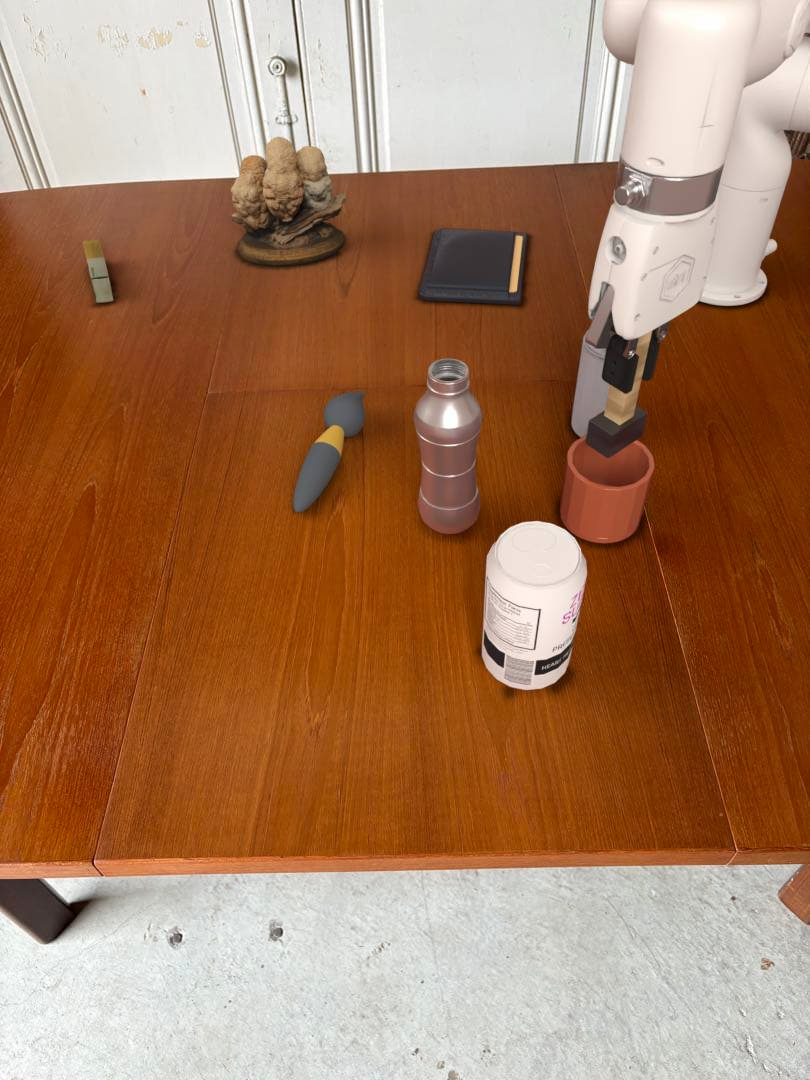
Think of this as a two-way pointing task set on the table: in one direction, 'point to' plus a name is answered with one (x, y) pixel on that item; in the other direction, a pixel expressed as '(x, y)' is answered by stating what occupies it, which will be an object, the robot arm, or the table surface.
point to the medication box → (98, 271)
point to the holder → (605, 491)
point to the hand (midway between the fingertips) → (626, 378)
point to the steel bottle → (589, 388)
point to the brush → (620, 413)
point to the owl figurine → (286, 206)
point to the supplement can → (532, 604)
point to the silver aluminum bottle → (448, 448)
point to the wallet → (475, 266)
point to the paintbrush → (328, 447)
